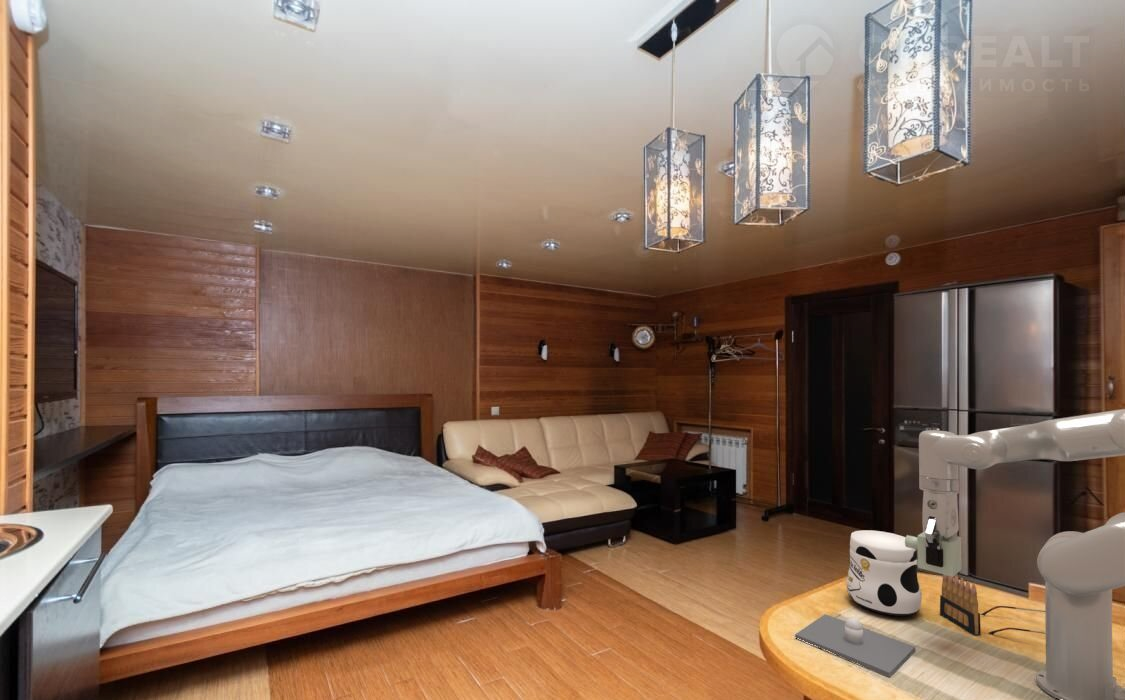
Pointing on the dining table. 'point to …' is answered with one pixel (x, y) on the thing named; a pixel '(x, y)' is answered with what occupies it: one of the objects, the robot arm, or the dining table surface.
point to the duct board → (857, 644)
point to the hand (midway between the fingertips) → (939, 560)
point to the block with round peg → (950, 553)
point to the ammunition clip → (960, 604)
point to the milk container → (883, 573)
